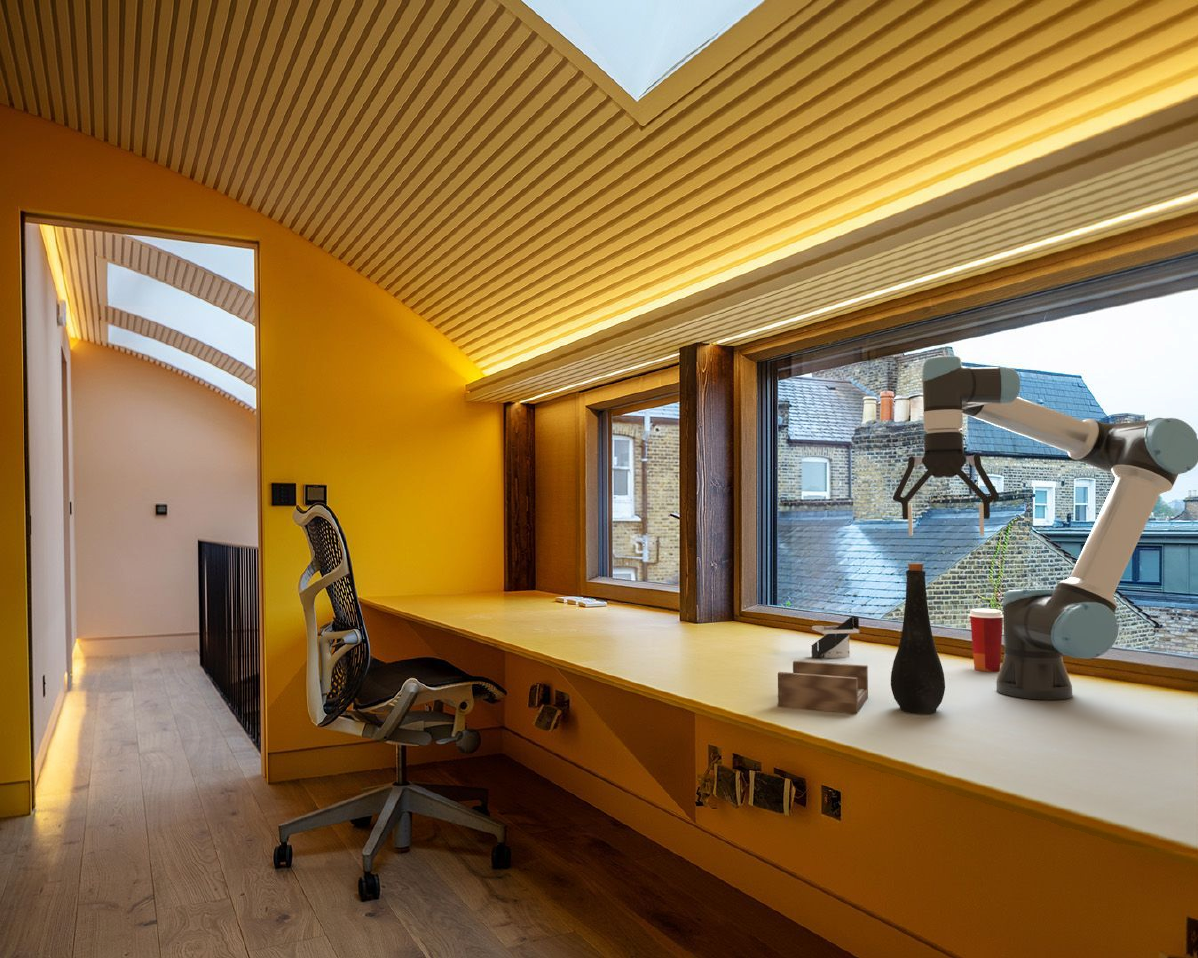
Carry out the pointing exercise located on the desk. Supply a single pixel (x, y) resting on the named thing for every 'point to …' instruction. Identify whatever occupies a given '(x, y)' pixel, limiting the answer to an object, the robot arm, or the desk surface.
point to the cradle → (824, 687)
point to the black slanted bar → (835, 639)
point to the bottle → (917, 653)
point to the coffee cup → (986, 638)
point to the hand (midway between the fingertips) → (945, 535)
